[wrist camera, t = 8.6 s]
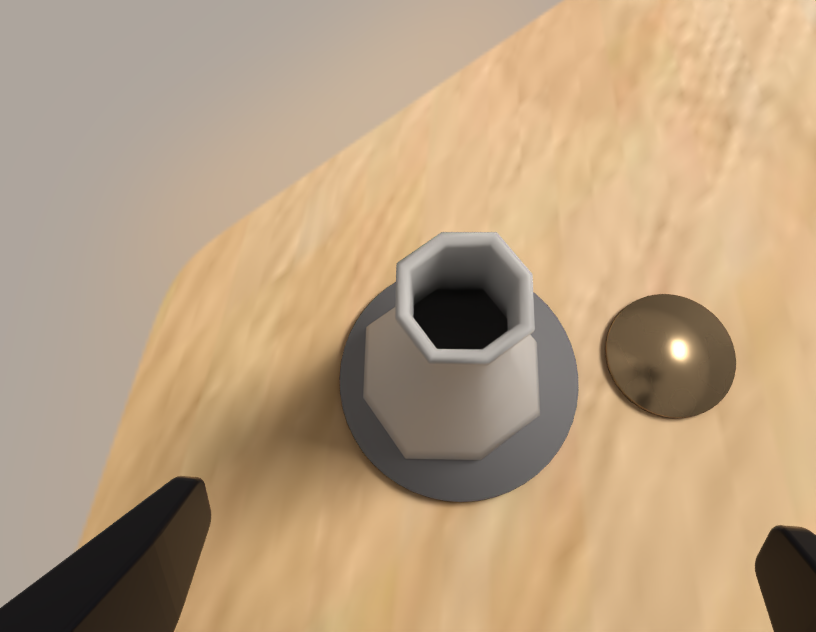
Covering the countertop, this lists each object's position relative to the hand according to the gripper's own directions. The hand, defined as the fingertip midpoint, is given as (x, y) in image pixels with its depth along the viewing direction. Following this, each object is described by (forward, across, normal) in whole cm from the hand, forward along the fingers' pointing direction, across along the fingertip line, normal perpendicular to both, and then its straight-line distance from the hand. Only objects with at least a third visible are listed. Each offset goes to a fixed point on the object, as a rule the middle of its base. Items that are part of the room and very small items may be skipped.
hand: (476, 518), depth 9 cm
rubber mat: (+12, 0, +6) cm, 13 cm away
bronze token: (+13, -8, +5) cm, 16 cm away
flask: (+12, 0, +6) cm, 13 cm away
